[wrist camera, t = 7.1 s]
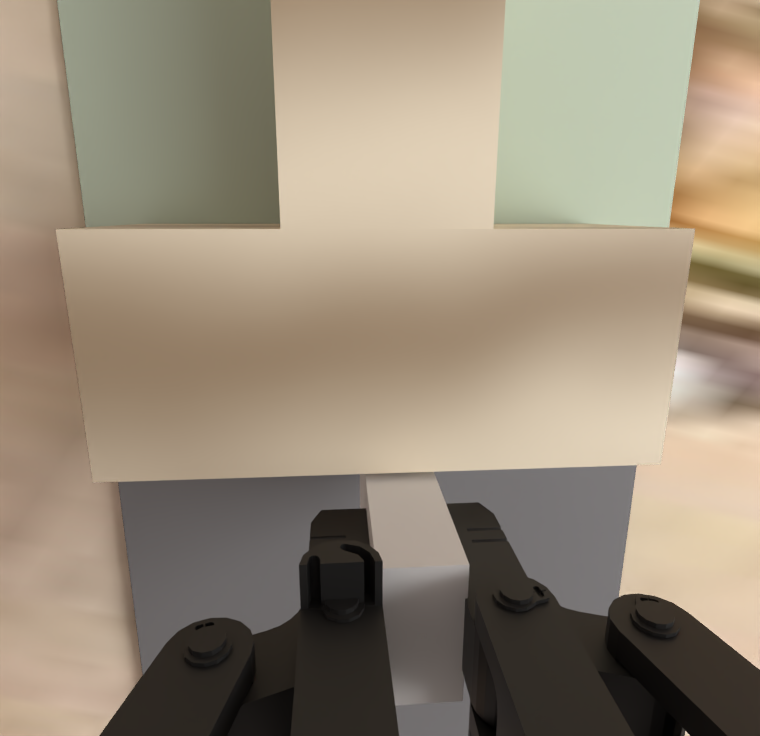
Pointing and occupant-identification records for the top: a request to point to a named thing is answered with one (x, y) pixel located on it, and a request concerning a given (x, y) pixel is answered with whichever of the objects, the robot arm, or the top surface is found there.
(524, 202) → the mat
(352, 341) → the t block
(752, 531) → the top surface
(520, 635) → the robot arm
